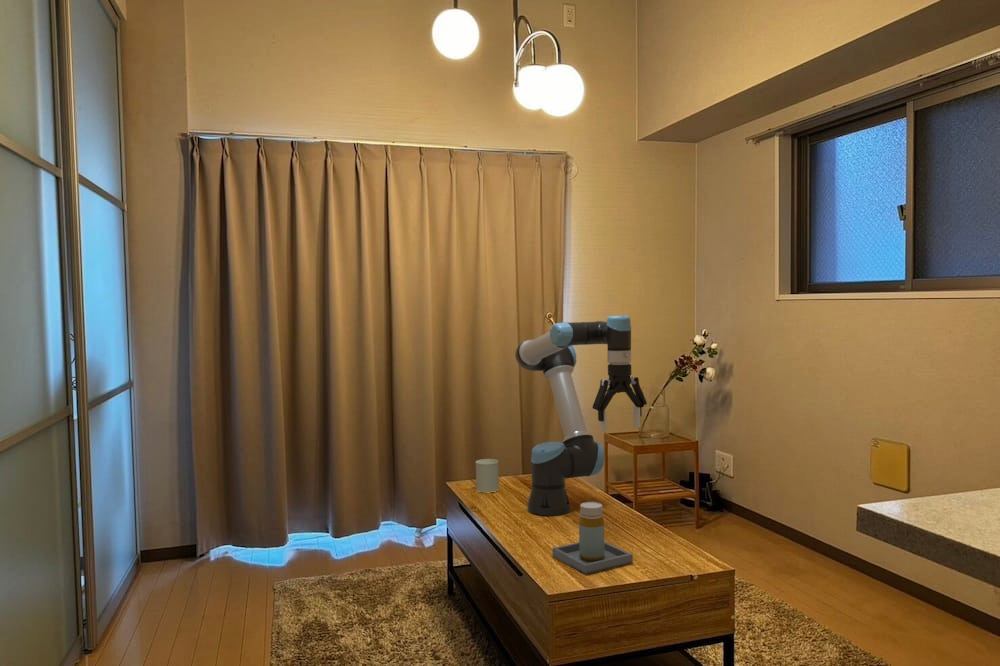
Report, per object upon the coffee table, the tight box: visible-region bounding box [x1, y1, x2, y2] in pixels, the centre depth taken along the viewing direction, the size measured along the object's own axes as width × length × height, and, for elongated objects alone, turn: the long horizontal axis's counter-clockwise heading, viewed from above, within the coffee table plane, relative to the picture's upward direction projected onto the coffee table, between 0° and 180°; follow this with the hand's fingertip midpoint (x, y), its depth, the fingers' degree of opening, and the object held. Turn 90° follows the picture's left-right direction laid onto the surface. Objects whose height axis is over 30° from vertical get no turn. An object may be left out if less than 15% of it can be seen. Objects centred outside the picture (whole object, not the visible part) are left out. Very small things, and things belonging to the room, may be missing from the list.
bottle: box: [578, 501, 605, 562], centre depth 193 cm, size 7×7×15 cm
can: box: [475, 458, 500, 492], centre depth 270 cm, size 9×9×12 cm
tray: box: [552, 540, 634, 576], centre depth 194 cm, size 16×16×2 cm
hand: (620, 429), depth 222 cm, fingers open, 13 cm apart
